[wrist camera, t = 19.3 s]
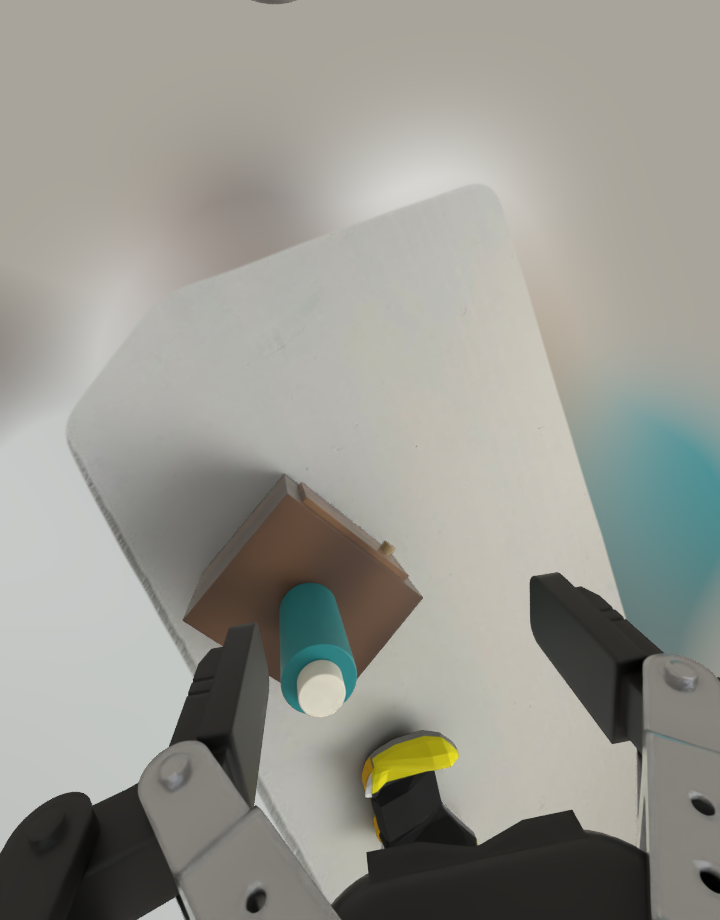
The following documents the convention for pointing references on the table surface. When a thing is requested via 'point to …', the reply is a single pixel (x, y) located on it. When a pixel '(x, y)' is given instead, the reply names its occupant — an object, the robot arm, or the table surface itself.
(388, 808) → the multicoloured piece
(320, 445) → the table surface
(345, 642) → the water bottle
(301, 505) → the storage box
